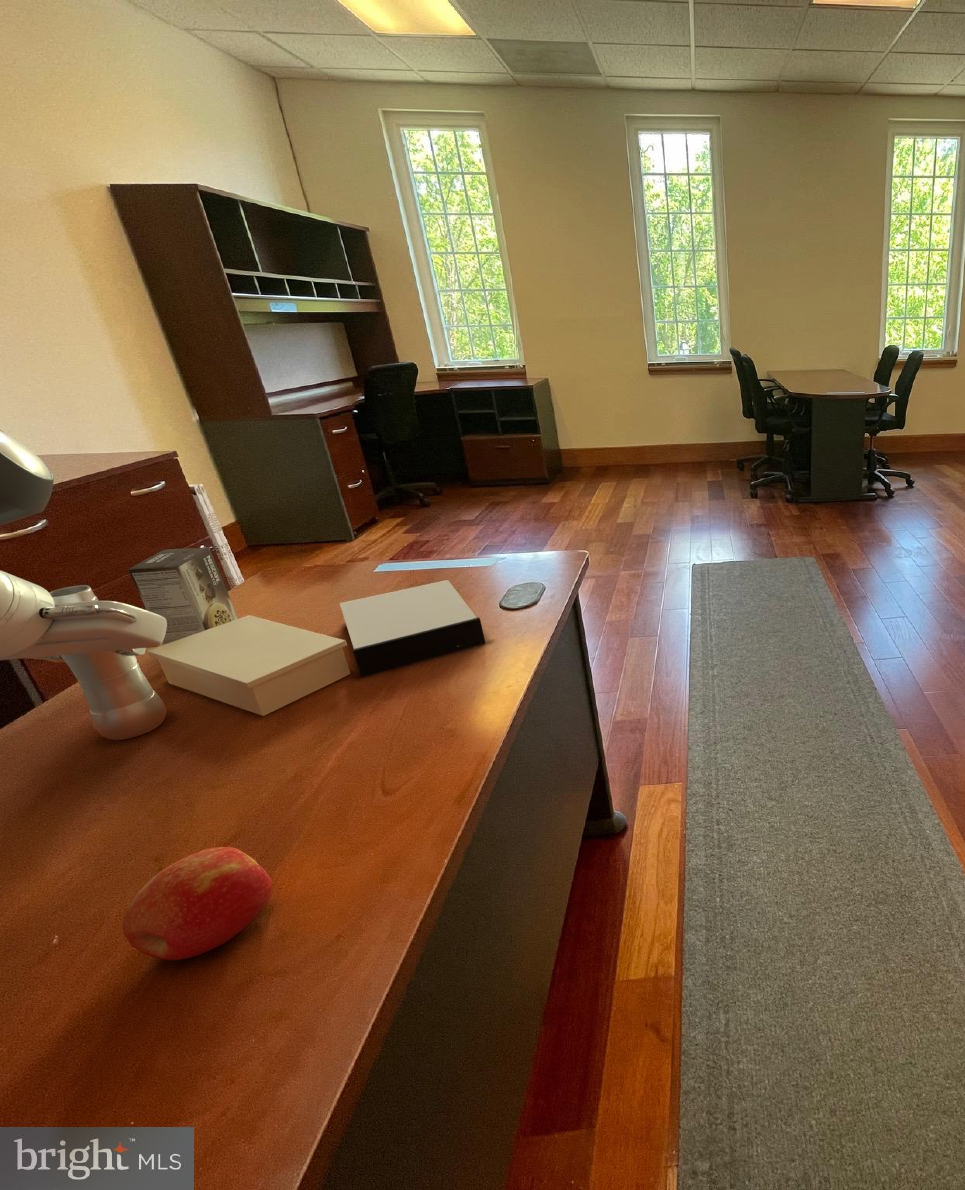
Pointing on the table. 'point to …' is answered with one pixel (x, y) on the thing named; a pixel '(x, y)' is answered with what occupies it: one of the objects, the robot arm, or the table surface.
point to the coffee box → (184, 591)
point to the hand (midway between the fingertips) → (103, 652)
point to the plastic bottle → (112, 684)
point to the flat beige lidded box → (253, 663)
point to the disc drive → (409, 626)
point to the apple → (197, 904)
